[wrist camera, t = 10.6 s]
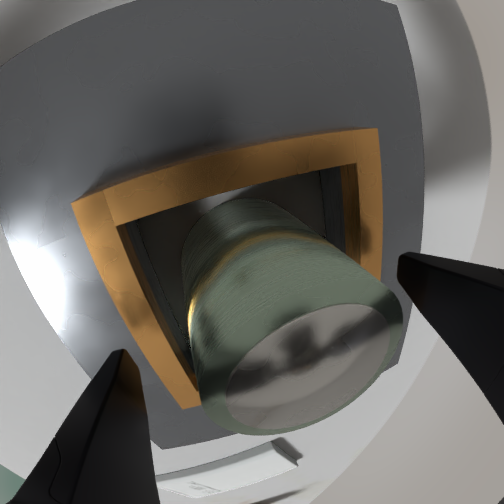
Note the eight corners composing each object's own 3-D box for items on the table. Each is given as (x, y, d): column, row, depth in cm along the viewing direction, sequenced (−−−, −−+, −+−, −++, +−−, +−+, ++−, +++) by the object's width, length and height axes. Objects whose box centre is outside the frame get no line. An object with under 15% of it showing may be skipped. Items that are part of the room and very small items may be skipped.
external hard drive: (294, 455, 22) (193, 488, 22) (268, 435, 18) (148, 472, 18) (299, 467, 21) (196, 500, 20) (274, 450, 17) (149, 486, 16)
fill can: (202, 327, 11) (234, 454, 6) (163, 220, 9) (157, 339, 4) (308, 292, 12) (388, 388, 7) (295, 184, 10) (419, 246, 5)
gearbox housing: (160, 430, 14) (164, 462, 12) (-6, 91, 5) (-43, 87, 3) (385, 349, 17) (406, 372, 14) (375, 12, 7) (412, 0, 5)
